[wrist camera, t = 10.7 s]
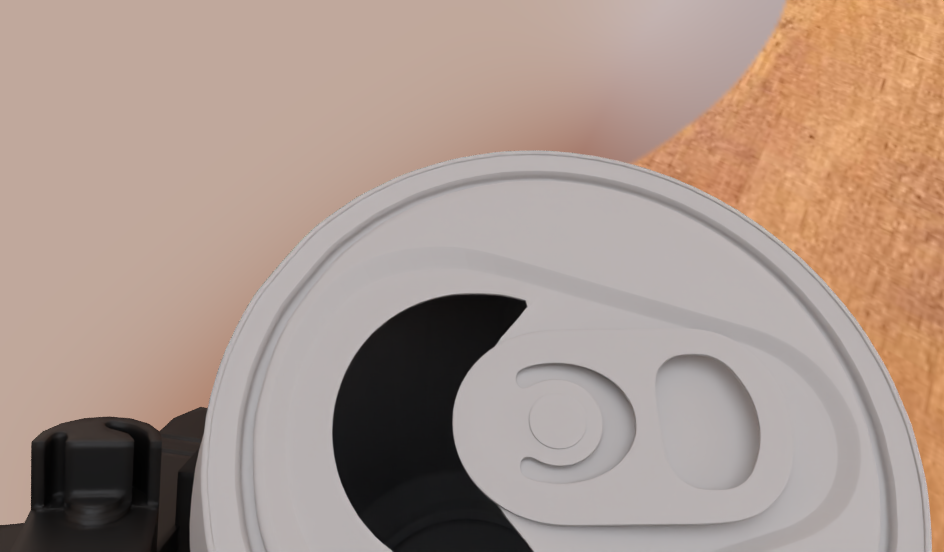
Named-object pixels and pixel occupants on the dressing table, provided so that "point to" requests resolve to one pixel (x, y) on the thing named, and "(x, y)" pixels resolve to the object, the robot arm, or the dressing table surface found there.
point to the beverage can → (552, 380)
